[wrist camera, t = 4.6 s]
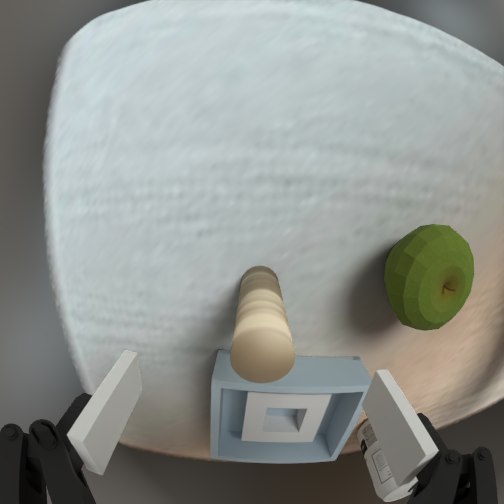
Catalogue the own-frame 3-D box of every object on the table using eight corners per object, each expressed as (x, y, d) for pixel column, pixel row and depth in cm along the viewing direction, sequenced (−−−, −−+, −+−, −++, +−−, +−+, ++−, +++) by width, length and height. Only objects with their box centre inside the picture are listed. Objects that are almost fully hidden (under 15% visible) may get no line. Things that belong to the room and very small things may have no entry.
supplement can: (407, 406, 34) (443, 468, 20) (385, 437, 36) (411, 496, 21) (369, 408, 34) (400, 481, 19) (348, 440, 36) (368, 507, 21)
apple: (390, 201, 27) (443, 210, 17) (448, 239, 28) (501, 258, 18) (351, 288, 29) (386, 330, 20) (413, 314, 30) (454, 352, 21)
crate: (218, 349, 31) (211, 379, 26) (358, 356, 32) (374, 384, 26) (214, 429, 35) (210, 458, 29) (328, 433, 35) (335, 460, 29)
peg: (243, 264, 29) (232, 328, 15) (280, 267, 29) (300, 334, 15) (239, 298, 30) (227, 380, 16) (275, 302, 30) (289, 384, 16)
